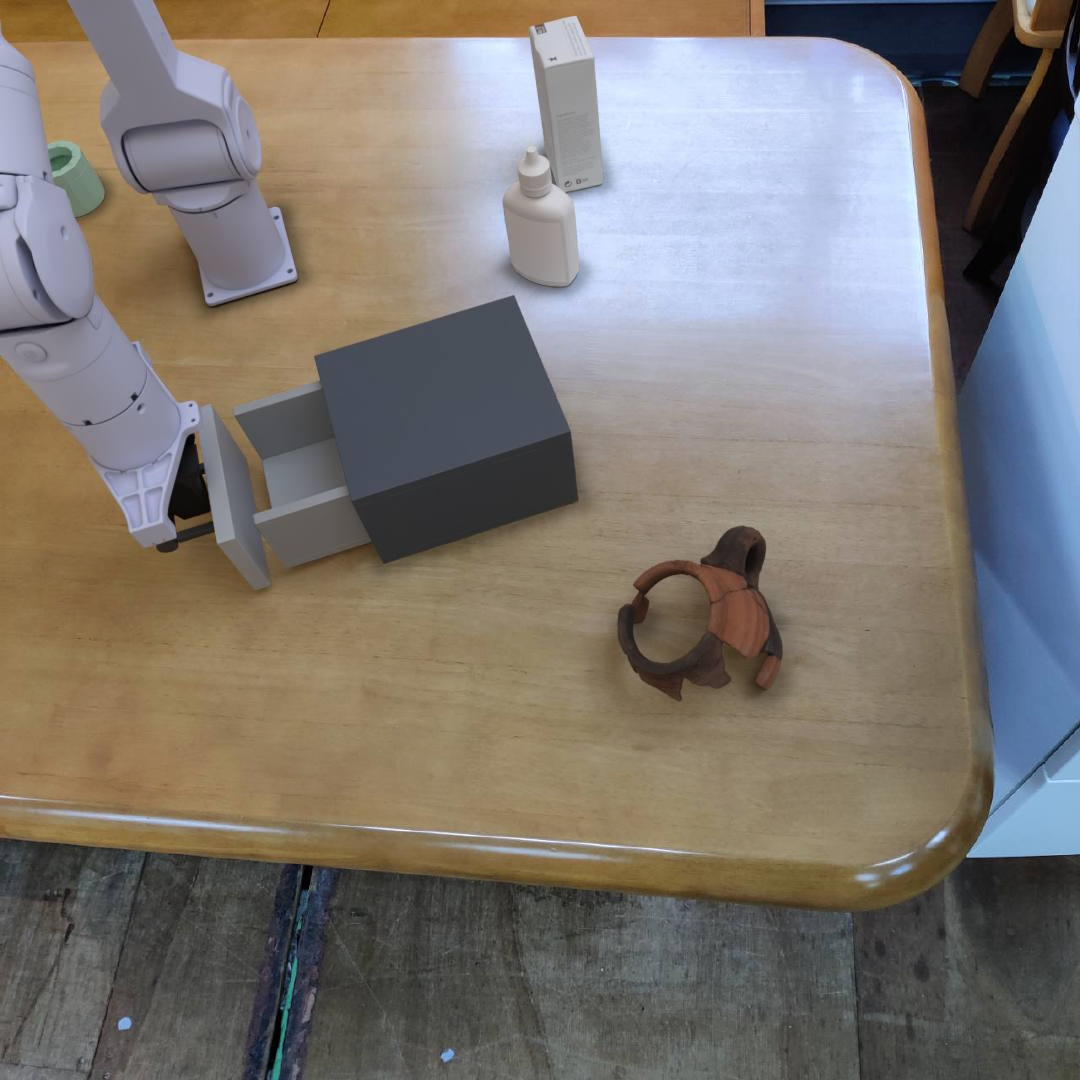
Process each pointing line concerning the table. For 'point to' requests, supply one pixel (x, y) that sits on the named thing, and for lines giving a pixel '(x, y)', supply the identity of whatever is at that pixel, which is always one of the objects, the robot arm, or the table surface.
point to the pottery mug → (711, 617)
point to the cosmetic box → (567, 102)
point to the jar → (75, 177)
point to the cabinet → (447, 429)
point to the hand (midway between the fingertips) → (195, 508)
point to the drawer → (276, 485)
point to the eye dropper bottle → (541, 225)
